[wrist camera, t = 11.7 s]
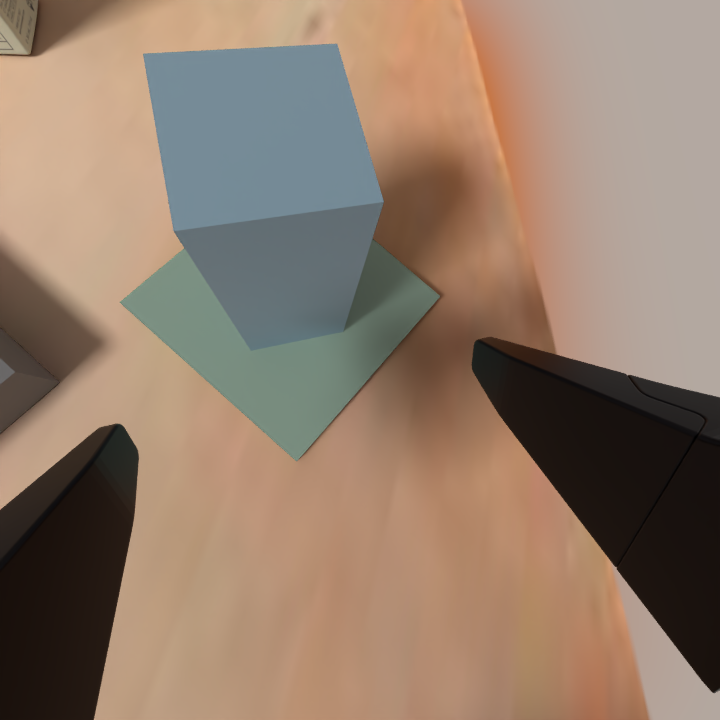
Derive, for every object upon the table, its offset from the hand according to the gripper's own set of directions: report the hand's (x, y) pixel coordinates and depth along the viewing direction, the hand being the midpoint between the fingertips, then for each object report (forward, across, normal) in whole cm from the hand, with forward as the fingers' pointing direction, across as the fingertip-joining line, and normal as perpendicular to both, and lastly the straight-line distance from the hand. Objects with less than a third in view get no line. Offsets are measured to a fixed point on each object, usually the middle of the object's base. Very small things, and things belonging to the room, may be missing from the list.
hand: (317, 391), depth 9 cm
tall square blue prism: (+10, 0, +1) cm, 10 cm away
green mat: (+10, 0, +2) cm, 10 cm away
